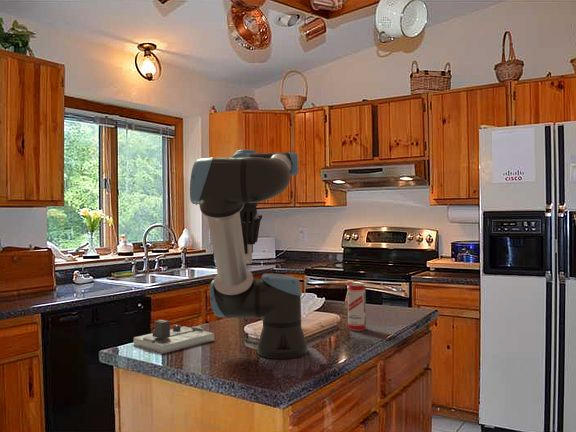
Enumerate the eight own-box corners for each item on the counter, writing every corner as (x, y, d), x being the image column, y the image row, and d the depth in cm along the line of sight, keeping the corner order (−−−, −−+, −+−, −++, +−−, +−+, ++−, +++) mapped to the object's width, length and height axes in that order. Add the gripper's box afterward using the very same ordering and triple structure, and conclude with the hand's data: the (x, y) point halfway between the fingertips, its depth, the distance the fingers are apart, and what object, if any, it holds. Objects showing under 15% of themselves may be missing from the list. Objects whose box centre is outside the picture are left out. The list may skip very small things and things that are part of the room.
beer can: (364, 332, 181) (363, 286, 181) (346, 330, 184) (345, 285, 183) (367, 328, 187) (366, 283, 187) (350, 327, 189) (349, 282, 189)
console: (213, 340, 173) (213, 328, 173) (162, 353, 158) (162, 340, 158) (184, 333, 184) (184, 322, 183) (133, 344, 169) (133, 332, 169)
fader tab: (170, 336, 167) (169, 320, 167) (162, 338, 165) (161, 322, 165) (162, 334, 170) (162, 319, 170) (154, 336, 168) (154, 320, 167)
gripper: (252, 195, 188) (253, 261, 189) (225, 195, 179) (226, 264, 179) (267, 195, 183) (268, 262, 184) (240, 194, 174) (241, 265, 174)
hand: (247, 263), depth 182 cm, fingers closed
